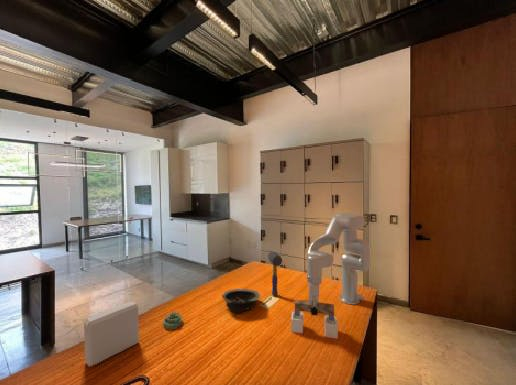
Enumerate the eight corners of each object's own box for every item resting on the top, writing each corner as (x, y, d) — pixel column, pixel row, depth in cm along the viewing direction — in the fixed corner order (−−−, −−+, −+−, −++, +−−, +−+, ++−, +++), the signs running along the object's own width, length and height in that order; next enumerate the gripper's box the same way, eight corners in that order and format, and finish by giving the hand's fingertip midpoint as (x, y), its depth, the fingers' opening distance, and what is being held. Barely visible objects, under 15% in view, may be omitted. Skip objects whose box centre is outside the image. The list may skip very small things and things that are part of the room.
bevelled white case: (133, 336, 120) (132, 298, 119) (140, 343, 115) (139, 303, 114) (83, 361, 104) (82, 317, 103) (89, 370, 99) (87, 324, 98)
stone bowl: (228, 320, 134) (228, 304, 134) (217, 303, 156) (217, 289, 157) (267, 310, 144) (266, 295, 144) (251, 295, 167) (251, 282, 167)
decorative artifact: (165, 319, 135) (161, 330, 125) (165, 307, 135) (161, 317, 125) (183, 318, 137) (180, 328, 127) (183, 306, 136) (180, 316, 127)
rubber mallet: (282, 299, 159) (283, 255, 157) (272, 300, 157) (272, 256, 155) (276, 290, 171) (277, 250, 169) (267, 291, 169) (267, 250, 167)
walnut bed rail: (333, 317, 124) (333, 304, 123) (333, 320, 120) (334, 307, 120) (295, 312, 128) (295, 299, 128) (294, 315, 125) (294, 303, 125)
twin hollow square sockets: (336, 330, 125) (336, 317, 125) (337, 338, 119) (337, 325, 118) (292, 324, 131) (292, 311, 130) (291, 331, 124) (291, 318, 124)
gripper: (307, 272, 132) (307, 303, 133) (306, 284, 116) (306, 320, 117) (321, 273, 131) (320, 305, 131) (322, 286, 114) (322, 322, 115)
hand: (314, 312), depth 124 cm, fingers closed on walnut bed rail, 3 cm apart
